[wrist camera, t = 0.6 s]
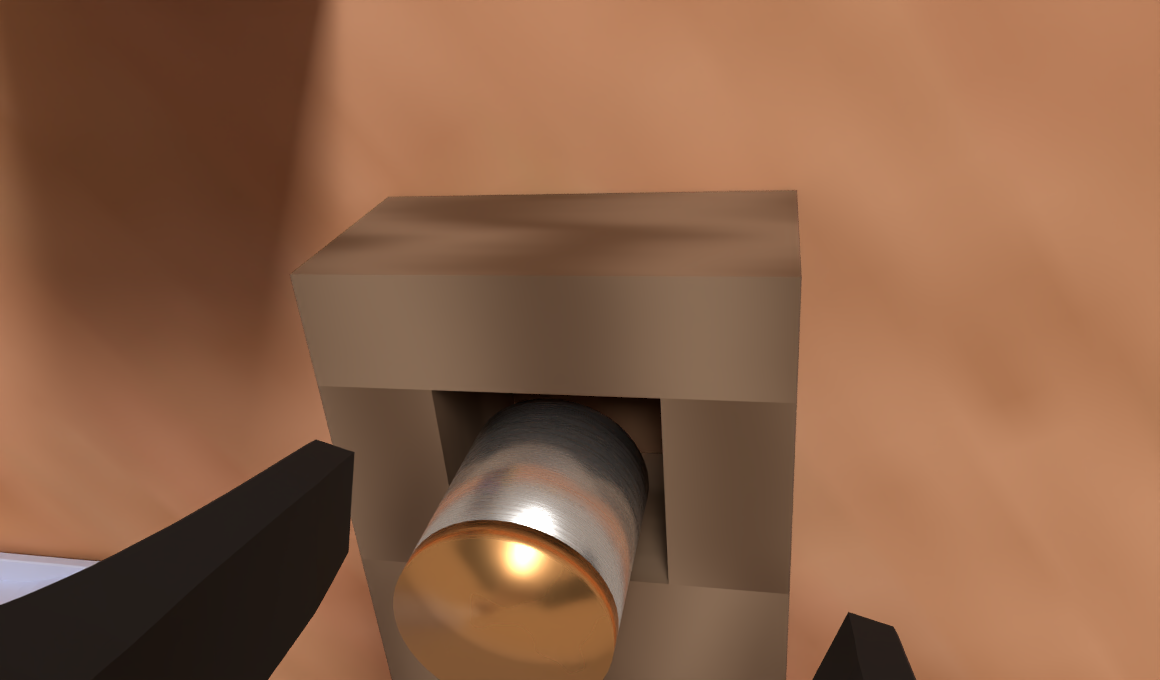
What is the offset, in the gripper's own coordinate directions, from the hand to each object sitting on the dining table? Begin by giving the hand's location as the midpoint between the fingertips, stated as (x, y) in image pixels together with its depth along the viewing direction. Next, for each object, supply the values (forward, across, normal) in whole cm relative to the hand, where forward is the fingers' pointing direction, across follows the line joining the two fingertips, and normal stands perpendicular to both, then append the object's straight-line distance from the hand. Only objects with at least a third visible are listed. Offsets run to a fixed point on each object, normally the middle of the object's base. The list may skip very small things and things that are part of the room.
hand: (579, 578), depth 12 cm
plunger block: (+10, -1, +11) cm, 15 cm away
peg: (+6, +1, +3) cm, 7 cm away
